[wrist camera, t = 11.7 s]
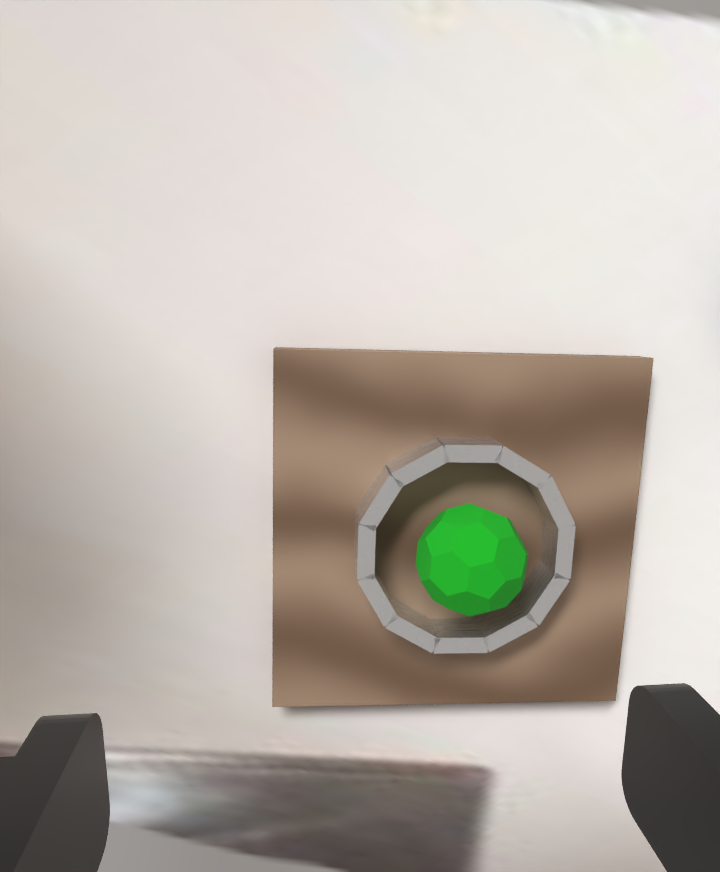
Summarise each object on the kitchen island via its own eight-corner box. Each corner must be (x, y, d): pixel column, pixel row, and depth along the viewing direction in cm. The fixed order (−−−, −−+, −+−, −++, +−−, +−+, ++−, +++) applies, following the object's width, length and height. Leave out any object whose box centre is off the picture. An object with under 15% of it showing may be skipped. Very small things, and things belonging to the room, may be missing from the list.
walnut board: (275, 347, 31) (273, 348, 29) (637, 356, 32) (653, 358, 31) (274, 689, 34) (272, 706, 32) (602, 684, 35) (615, 700, 34)
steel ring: (357, 435, 30) (360, 443, 28) (565, 438, 31) (583, 446, 29) (352, 633, 32) (354, 654, 30) (548, 631, 33) (564, 652, 31)
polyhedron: (525, 513, 31) (562, 548, 27) (484, 601, 32) (513, 649, 28) (433, 477, 31) (455, 506, 26) (393, 567, 32) (407, 611, 27)
